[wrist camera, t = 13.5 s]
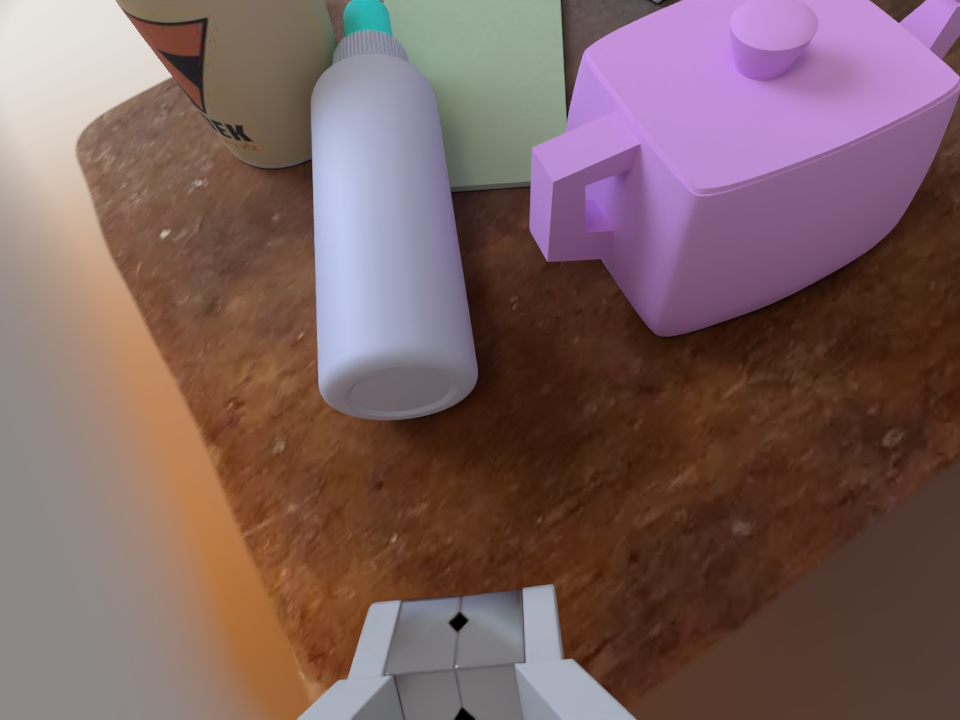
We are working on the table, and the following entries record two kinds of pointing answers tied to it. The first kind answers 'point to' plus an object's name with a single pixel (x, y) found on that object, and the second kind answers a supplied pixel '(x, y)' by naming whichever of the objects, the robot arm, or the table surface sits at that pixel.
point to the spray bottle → (385, 234)
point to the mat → (488, 81)
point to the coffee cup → (244, 67)
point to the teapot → (743, 149)
